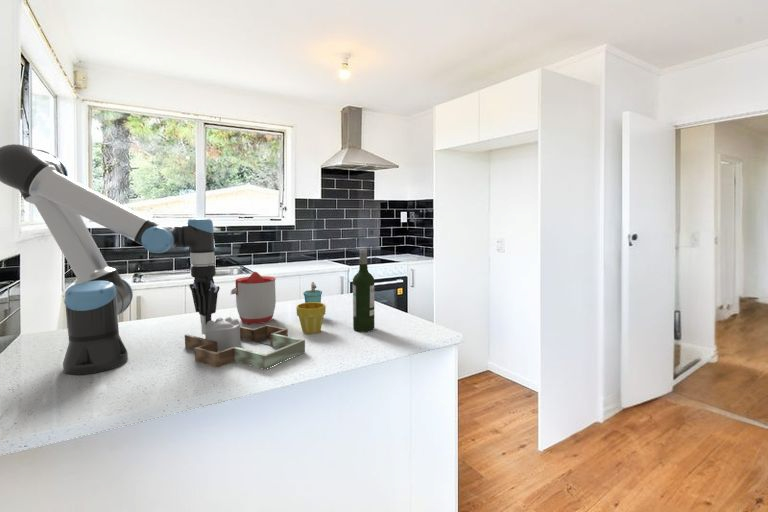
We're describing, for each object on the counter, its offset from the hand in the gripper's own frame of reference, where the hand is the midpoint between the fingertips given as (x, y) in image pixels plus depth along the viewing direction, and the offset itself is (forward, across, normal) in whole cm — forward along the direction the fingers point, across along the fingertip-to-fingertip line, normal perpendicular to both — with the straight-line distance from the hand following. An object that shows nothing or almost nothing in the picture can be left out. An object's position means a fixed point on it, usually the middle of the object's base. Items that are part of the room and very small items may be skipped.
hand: (206, 333), depth 137 cm
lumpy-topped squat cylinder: (+3, -9, 0) cm, 10 cm away
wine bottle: (+3, -39, -38) cm, 55 cm away
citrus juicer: (+3, +5, -25) cm, 26 cm away
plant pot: (+3, -24, -26) cm, 35 cm away
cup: (+3, -12, -41) cm, 43 cm away
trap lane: (+3, -19, 0) cm, 19 cm away
